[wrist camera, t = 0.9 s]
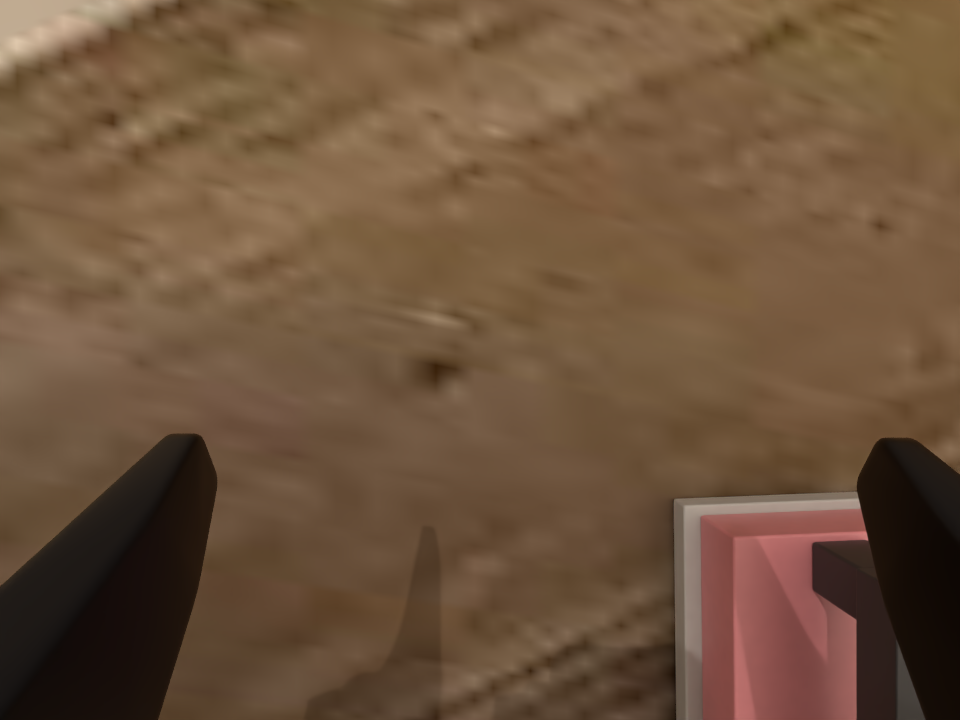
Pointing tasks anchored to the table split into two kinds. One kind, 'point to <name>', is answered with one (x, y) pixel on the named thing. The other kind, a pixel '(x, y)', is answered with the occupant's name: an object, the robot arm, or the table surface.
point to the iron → (782, 613)
